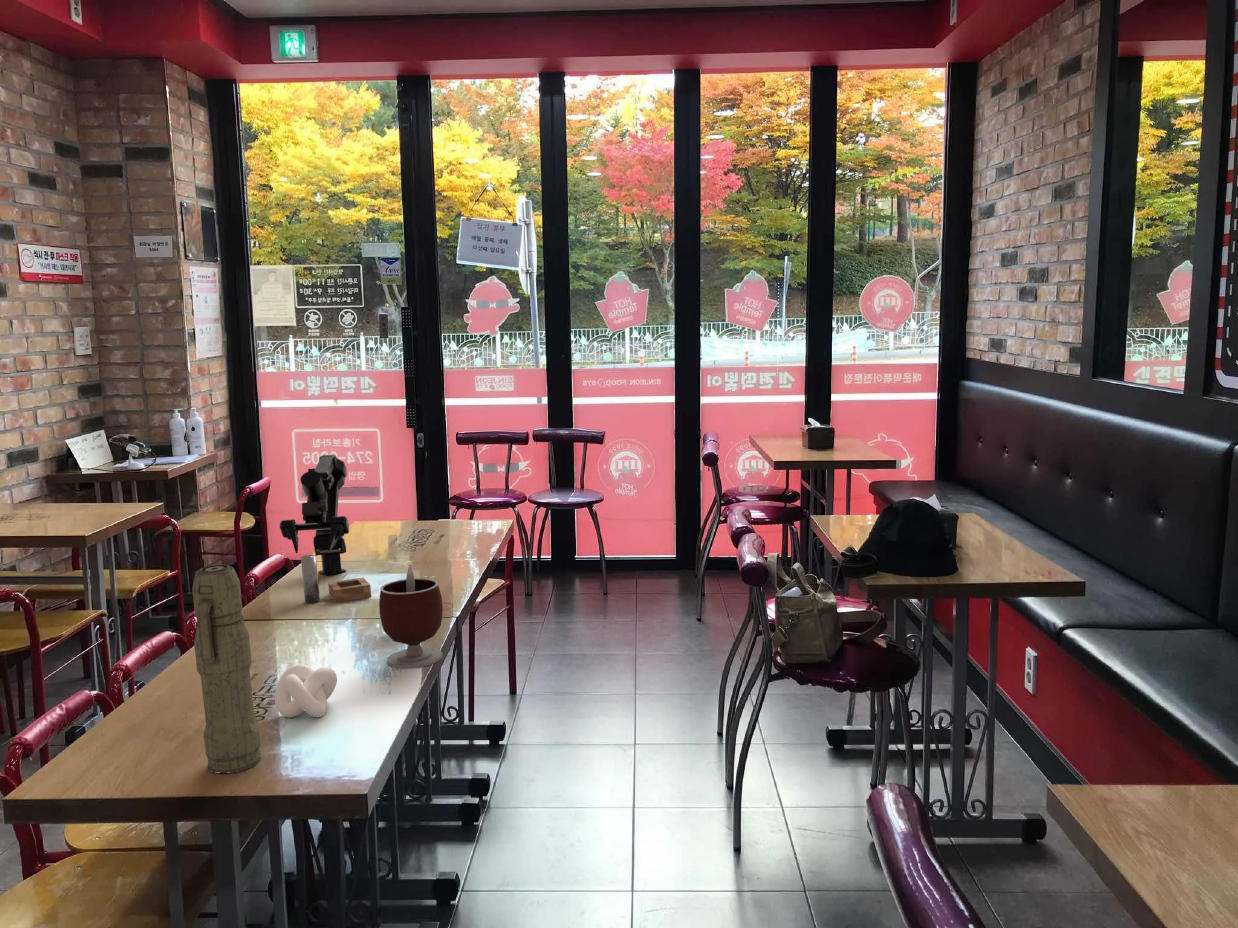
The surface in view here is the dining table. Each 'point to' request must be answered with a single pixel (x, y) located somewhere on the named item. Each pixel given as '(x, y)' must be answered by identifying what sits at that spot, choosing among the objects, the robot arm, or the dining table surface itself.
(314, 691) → the white knot
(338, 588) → the socket block
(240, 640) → the thermos
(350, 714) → the dining table surface
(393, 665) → the mate gourd
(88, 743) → the dining table surface
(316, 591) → the pin
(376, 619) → the dining table surface
